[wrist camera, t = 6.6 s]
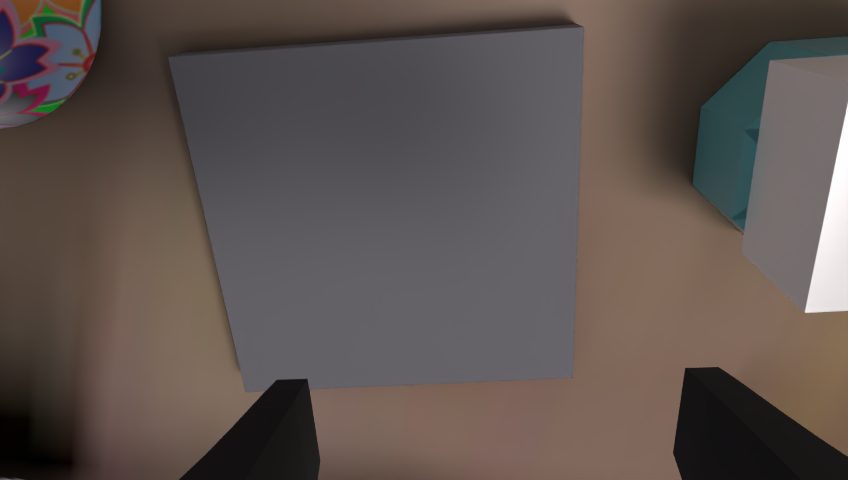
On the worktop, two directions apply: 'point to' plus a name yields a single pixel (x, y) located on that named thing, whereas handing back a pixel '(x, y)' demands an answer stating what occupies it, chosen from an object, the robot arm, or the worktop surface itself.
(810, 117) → the white block
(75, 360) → the worktop surface
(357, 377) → the mat
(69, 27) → the mug
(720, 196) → the bowl
